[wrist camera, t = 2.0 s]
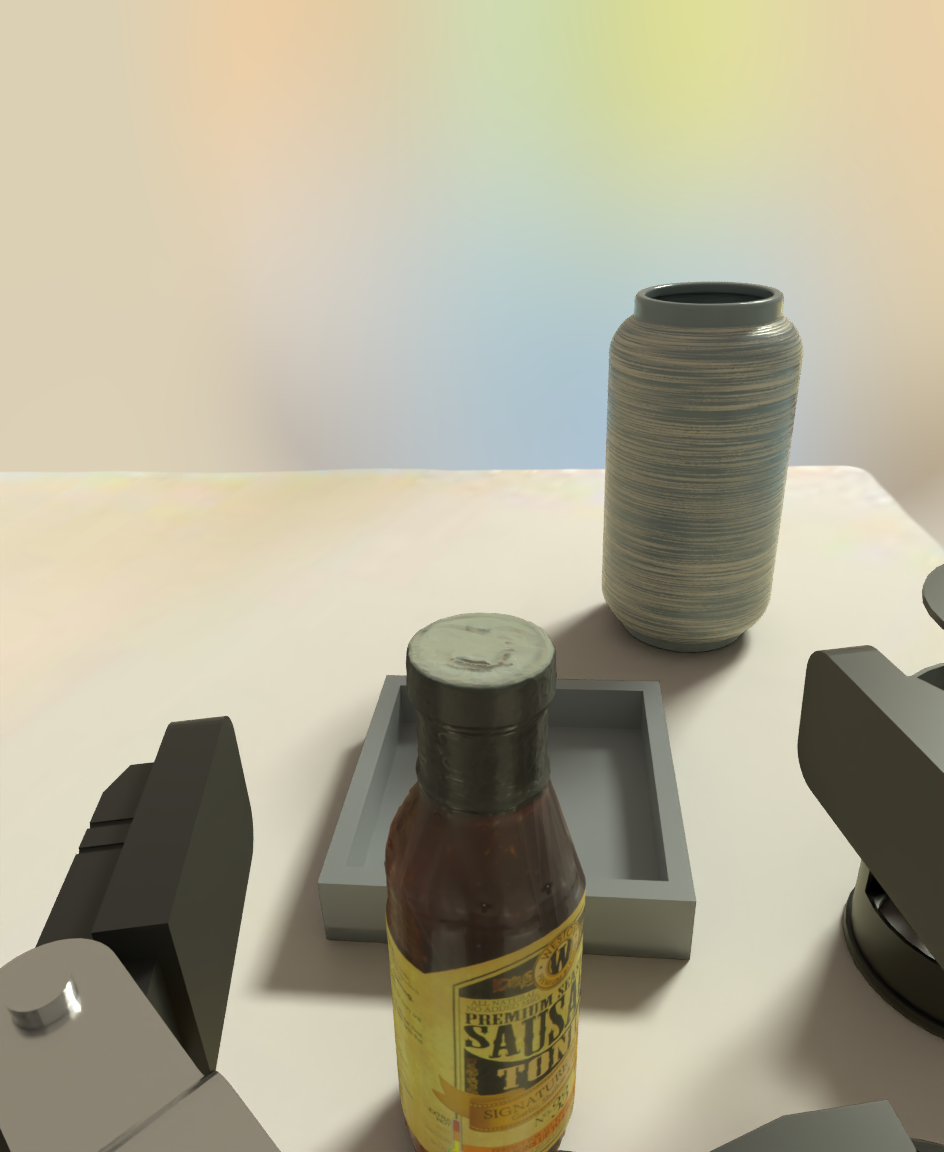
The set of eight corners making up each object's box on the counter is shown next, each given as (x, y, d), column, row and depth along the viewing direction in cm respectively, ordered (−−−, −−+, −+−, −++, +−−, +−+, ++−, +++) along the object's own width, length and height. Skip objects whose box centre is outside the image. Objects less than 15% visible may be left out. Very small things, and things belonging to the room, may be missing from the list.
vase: (567, 618, 63) (571, 295, 53) (671, 570, 69) (693, 272, 59) (694, 685, 55) (728, 318, 44) (798, 623, 61) (850, 289, 51)
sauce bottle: (487, 1253, 27) (458, 764, 18) (368, 1113, 31) (296, 657, 22) (614, 1106, 31) (642, 645, 22) (494, 999, 35) (475, 573, 26)
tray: (326, 939, 38) (317, 882, 37) (391, 722, 53) (386, 675, 51) (689, 959, 37) (696, 901, 35) (655, 730, 51) (659, 681, 49)
